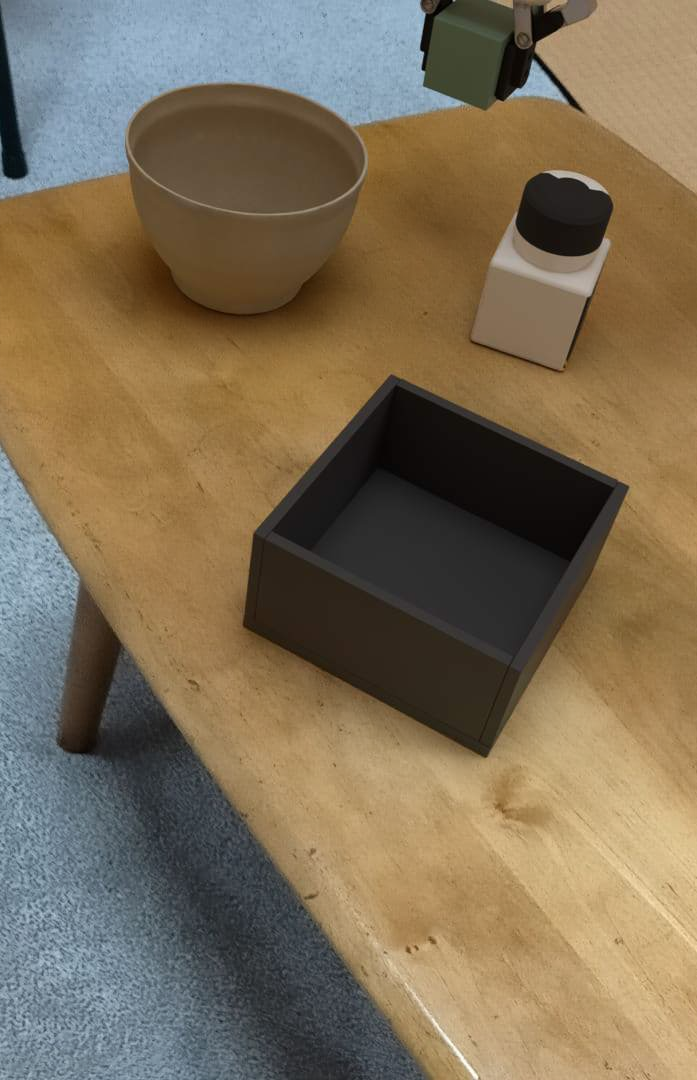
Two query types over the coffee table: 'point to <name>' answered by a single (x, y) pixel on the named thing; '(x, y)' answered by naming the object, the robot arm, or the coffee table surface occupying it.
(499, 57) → the box
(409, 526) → the basket
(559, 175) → the medicine bottle
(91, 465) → the coffee table surface
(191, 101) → the planter bowl
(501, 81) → the robot arm
